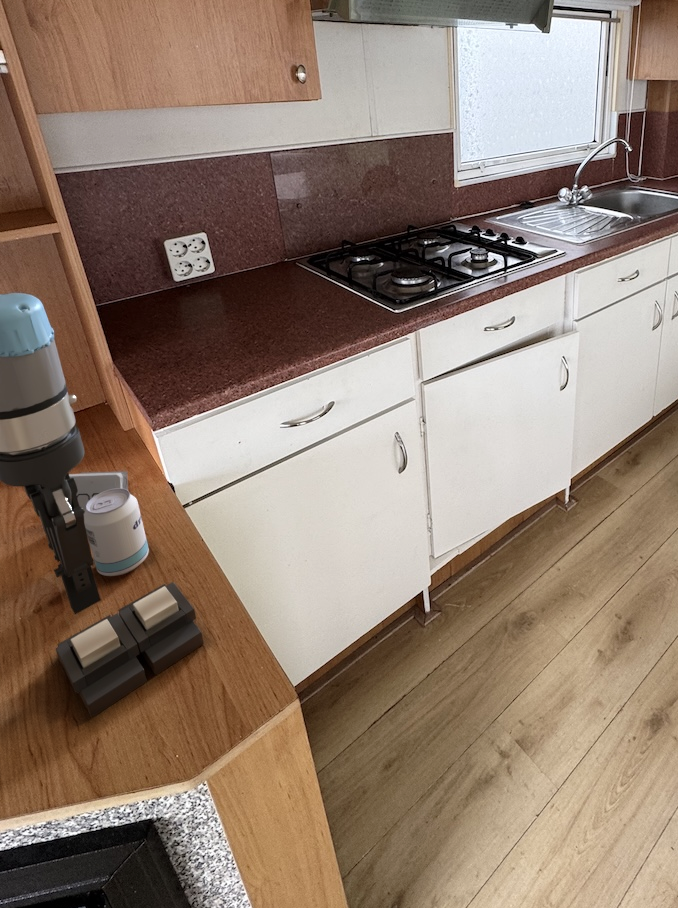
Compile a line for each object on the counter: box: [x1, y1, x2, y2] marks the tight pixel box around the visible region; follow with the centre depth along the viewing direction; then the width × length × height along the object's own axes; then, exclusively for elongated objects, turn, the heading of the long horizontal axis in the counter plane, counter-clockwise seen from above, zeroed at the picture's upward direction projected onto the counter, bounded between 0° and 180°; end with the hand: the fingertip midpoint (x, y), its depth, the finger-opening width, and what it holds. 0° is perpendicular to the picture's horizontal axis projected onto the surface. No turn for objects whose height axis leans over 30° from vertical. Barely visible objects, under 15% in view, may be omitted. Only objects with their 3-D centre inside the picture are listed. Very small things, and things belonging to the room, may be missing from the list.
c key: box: [71, 619, 120, 669], centre depth 72 cm, size 4×4×2 cm
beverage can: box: [84, 488, 150, 577], centre depth 88 cm, size 7×7×12 cm
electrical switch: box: [69, 470, 129, 513], centre depth 98 cm, size 9×5×9 cm, turn 95°
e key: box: [133, 586, 179, 630], centre depth 77 cm, size 4×4×2 cm
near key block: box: [55, 612, 147, 719], centre depth 73 cm, size 12×7×4 cm, turn 50°
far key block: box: [118, 581, 205, 676], centre depth 78 cm, size 12×7×4 cm, turn 50°
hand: (86, 603), depth 70 cm, fingers closed
